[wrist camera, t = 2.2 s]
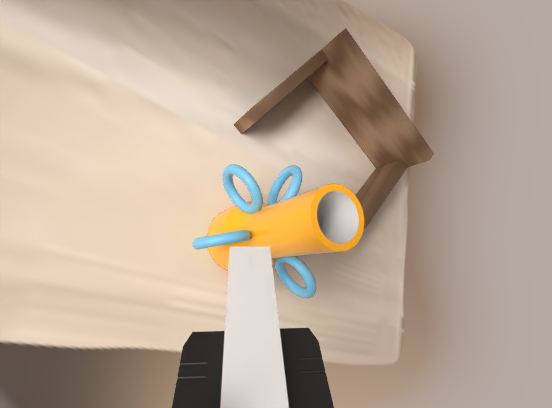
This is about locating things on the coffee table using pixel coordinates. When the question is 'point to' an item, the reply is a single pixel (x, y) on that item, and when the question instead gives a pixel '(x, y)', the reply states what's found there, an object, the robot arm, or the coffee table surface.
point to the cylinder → (285, 224)
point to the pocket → (357, 115)
